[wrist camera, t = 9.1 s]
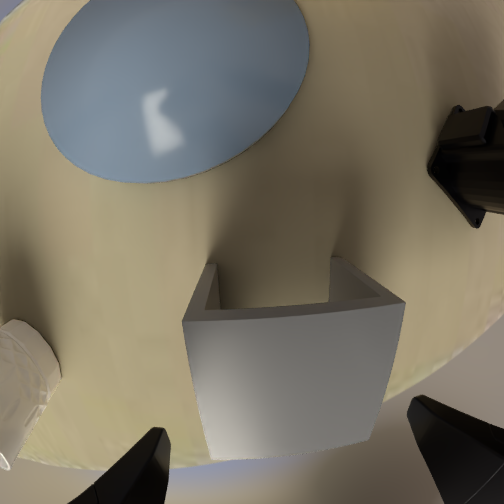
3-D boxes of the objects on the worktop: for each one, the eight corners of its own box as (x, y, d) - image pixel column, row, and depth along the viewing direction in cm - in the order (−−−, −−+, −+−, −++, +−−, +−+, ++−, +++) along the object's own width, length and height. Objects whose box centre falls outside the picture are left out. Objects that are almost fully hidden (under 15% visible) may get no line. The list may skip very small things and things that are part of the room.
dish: (349, 28, 12) (355, 19, 11) (201, 239, 14) (198, 244, 13) (152, -45, 9) (149, -53, 8) (18, 122, 12) (8, 119, 11)
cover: (331, 365, 17) (368, 439, 10) (218, 375, 16) (211, 459, 10) (340, 256, 15) (405, 302, 8) (206, 264, 15) (181, 321, 8)
